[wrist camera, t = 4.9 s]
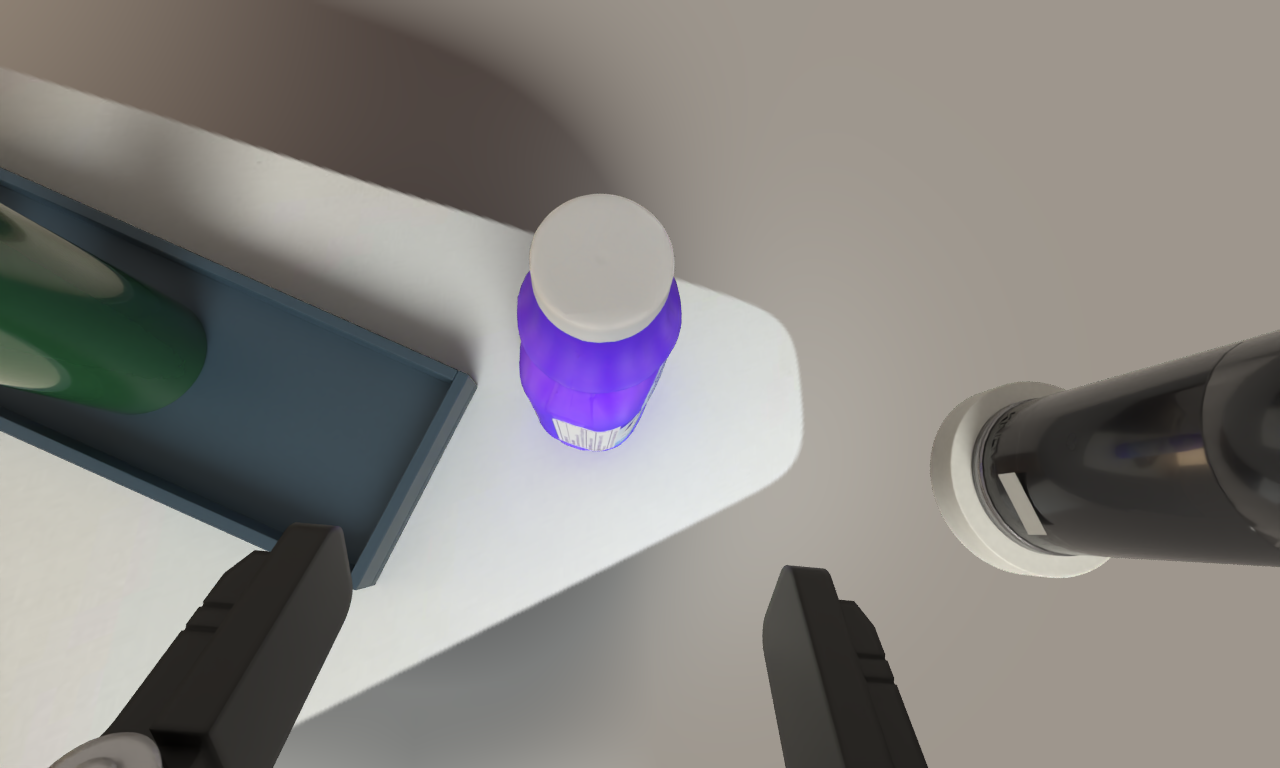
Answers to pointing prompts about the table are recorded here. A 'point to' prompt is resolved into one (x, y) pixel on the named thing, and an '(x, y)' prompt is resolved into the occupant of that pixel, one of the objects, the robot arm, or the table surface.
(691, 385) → the table surface
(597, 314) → the bottle
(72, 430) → the tray
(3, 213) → the green bottle
